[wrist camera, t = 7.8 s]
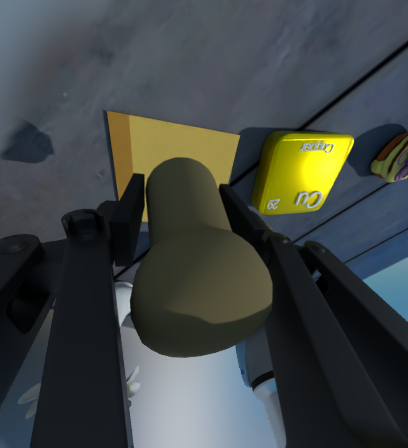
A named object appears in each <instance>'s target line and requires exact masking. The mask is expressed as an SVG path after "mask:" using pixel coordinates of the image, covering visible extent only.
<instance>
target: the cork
mask: <svg viewBox="0 0 408 448" xmlns="http://www.w3.org/2000/svg"><path fill="white" fill-rule="evenodd" d="M145 194H146V206H147V217H148V229H149V240H150V251H149V252H148V253H147V255H146V256H145V257H144V258H143V260H142V262H141V264H140V265H139V267H138V269H137V271H136V275H135V279H134V283H133V287H132V292H131V297H130V311H131V319H132V322H133V324H134V327H135V329H136V331H137V333H138V336H139V337H140V340H141V342H142V343H143V344H144V345H146V346H147V347H148V348H150V349H151V350H153V351H155V352H157V353H159V354H161V355H166V356H169V357H182V358H186V357H196V356H203V355H207V354H212V353H216V352H219V351H222V350H225V349H228V348H230V347H232V346H234V345H236V344H239V343H241V342H243V341H244V340H246V339H247V338H249V337H250V336H252V335H253V334H255V333H256V332H257V331H258V330H259V329H260V328H261V327H262V326H263V324H264V322H265V321H266V319H267V318H268V316H269V314H270V312H271V311H272V286H273V283H272V280H271V277H270V274H269V271H268V269H267V267H266V266H265V264H264V262H263V261H262V259H261V258H260V256H259V255H258V253H257V252H256V250H255V249H254V247H253V246H252V245H250V244H249V243H248V242H247V241H246V240H244V239H243V238H241V237H240V236H238V235H237V234H235V233H233V232H232V230H231V227H230V224H229V221H228V218H227V215H226V212H225V209H224V206H223V203H222V200H221V196H220V193H219V190H218V187H217V184H216V181H215V178H214V177H213V175H212V174H211V172H210V170H209V169H208V168H207V167H206V166H204V165H203V164H202V163H201V162H199V161H196V160H194V159H191V158H188V157H175V158H172V159H168V160H165V161H163V162H162V163H160V164H159V165H158V166H156V167H155V168H154V169H153V171H152V172H151V174H150V175H149V177H148V178H147V183H146V188H145Z"/></svg>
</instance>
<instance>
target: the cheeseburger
mask: <svg viewBox="0 0 408 448" xmlns="http://www.w3.org/2000/svg"><path fill="white" fill-rule="evenodd" d="M371 171H372V172H374V173H375V174H376V175H377V176H378V177H380V178H384V179H385V180H386V181H387V182H395V181H400V180H402V179H405V178H407V177H408V132H407V133H403V134H401V135H398V136H397V137H396V138H395V139H393V140H392V141H391V142H390V143H389V144H388V145H387V146H386V147H385V148H384V149H383V151H382V152H381V153H380V155H379V156H378V157H377V159H376V160H374V161H373V162H372V164H371Z"/></svg>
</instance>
